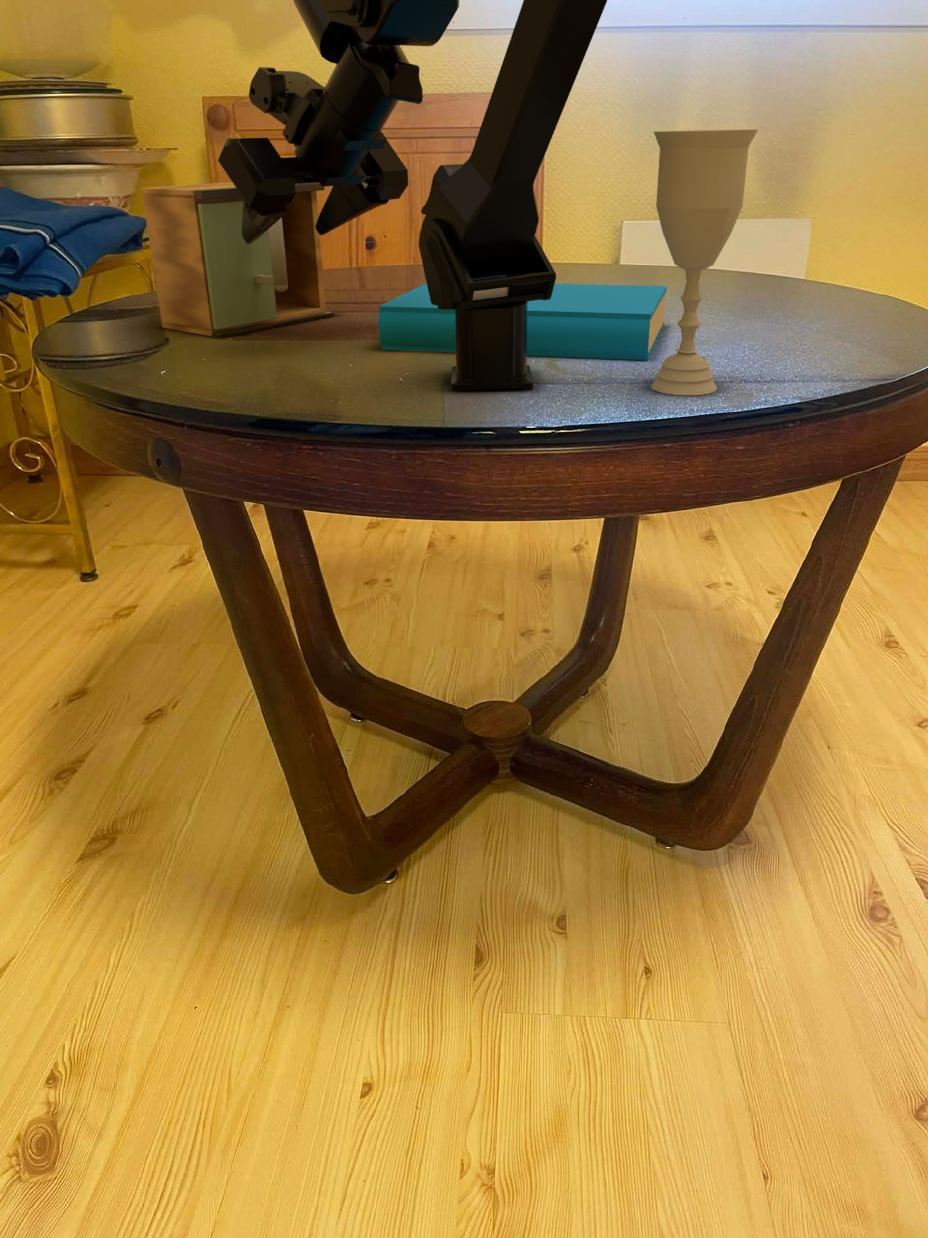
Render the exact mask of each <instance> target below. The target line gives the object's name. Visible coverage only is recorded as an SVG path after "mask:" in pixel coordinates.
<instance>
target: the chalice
mask: <svg viewBox="0 0 928 1238" xmlns="http://www.w3.org/2000/svg"><path fill="white" fill-rule="evenodd" d="M758 131H759V129H696V130H695V129H694V130H657V131H656V130H655V131H653V134H654V137H655V140H656V143H657V144H658V147H659V155H658V156H659V157H658V170H657V171H658V172H657V187H656V200H655V201H656V203H655V208H656V210H657V215H658V219H659V223H660V228H661V232H662V235H663V238H664V240H665V243H666V245H667V248H668V250H669V253H670V256H671V258H672V261H673V264H674V265H675V266H677V267H678V268H680V269H682V270H684V272H685V278H686V279H685V280H686V281H685V285H684V290H683V294H681V296H680V297H679V298H680V300H681V302H682V306H683V313H682V316H681V319H680V320H678V321H677V325H678V327H679V328H680V334H681V341H680V345H679V348H678V349H676V350H675V351H676V353H674V354H672V355H668V356H667V357H666V358H665V359H664V360H663V361H662V362H661V364H660V365H661V367H660V368H659V370H658V372H656V378H655V379H654V381H653V382H652V383H651V386H650V388H651V389H652V390H653V391H655V392H658V393H662V394H666V395H673V396H701V395H708V394H712V393H714V392H716V391H717V390H718V387H717V385H716V383H715V381H714V380H713V379H714V374H713V372H712V370H711V368H710V367H711V364H710V363H709V361H708V360H707V358H706V357H705V356H703V355H699V354H698V350H697V349H696V347H695V336H696V332H697V329H698V328H699V327H700V326H701V325H702V323H701V322H700V320H699V319H698V313H697V310H698V307H699V304H700V303H701V301H702V300H703V297H702V295H701V291H700V279H701V275H702V271H704V270H707V269H708V268H710V267H712V266H714V265H715V263H716V261H717V260H718V258H719V256H720V254H721V253H722V251H723V249H724V247H725V245H726V243H727V241H728V240H729V238H730V236H731V234H732V232H733V231H734V227H735V225H736V222H737V220H738V218H739V216H740V213H741V211H742V208H743V206H744V195H745V187H746V186H745V185H746V176H747V167H748V166H747V165H748V156H749V147H750V145H751V144H752V142H753V140H754V139H755V136H756V135H757V133H758Z"/></svg>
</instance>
